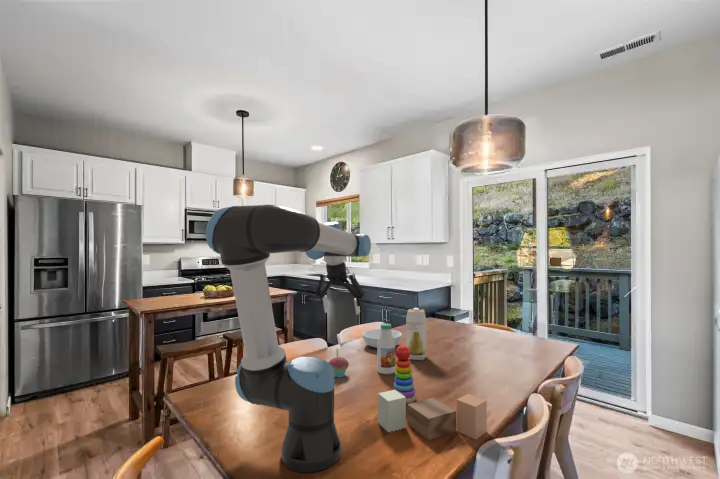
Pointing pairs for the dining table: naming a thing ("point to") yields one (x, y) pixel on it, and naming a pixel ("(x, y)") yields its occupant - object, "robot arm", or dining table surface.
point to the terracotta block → (472, 416)
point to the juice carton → (416, 333)
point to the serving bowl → (373, 336)
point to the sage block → (391, 410)
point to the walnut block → (431, 418)
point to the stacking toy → (404, 374)
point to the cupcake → (339, 365)
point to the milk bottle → (386, 351)
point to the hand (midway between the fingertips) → (342, 312)
